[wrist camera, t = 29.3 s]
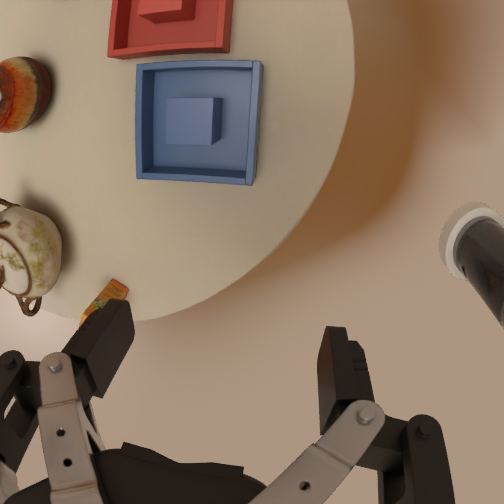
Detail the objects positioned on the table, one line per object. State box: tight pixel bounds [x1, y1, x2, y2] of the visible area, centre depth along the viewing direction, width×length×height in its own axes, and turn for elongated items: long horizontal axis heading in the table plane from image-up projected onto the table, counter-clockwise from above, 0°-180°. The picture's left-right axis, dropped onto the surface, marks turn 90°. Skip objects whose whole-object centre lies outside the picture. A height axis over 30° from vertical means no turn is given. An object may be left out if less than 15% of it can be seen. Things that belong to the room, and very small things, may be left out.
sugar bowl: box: [0, 198, 62, 316], centre depth 38 cm, size 20×15×15 cm
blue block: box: [166, 98, 223, 146], centre depth 32 cm, size 5×5×5 cm
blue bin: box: [135, 60, 263, 186], centre depth 33 cm, size 14×14×4 cm
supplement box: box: [79, 279, 128, 327], centre depth 43 cm, size 3×3×10 cm
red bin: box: [107, 0, 233, 60], centre depth 27 cm, size 14×14×4 cm
